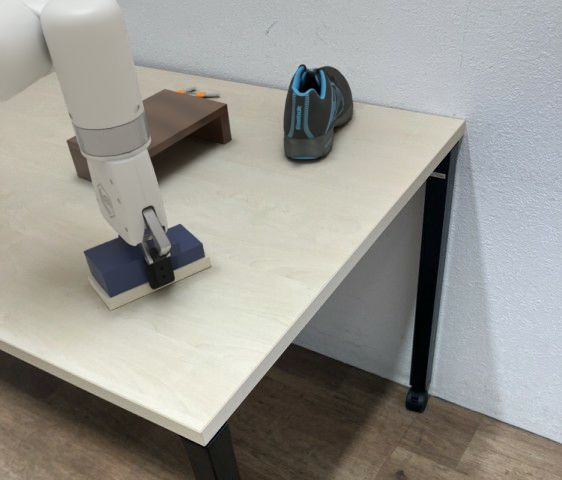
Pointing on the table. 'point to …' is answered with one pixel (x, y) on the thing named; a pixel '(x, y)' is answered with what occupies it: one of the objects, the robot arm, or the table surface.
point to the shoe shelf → (172, 124)
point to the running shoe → (315, 111)
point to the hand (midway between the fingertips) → (149, 269)
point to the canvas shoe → (140, 265)
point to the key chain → (200, 94)
